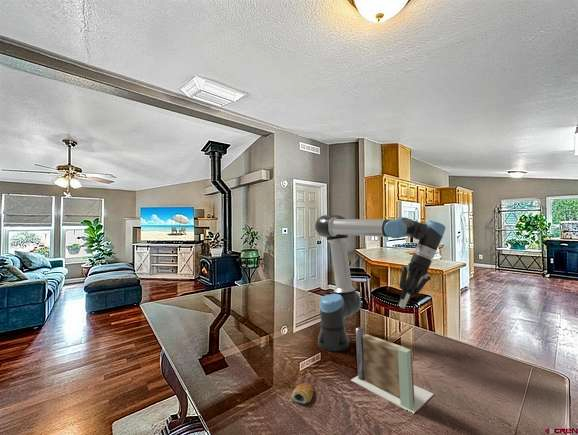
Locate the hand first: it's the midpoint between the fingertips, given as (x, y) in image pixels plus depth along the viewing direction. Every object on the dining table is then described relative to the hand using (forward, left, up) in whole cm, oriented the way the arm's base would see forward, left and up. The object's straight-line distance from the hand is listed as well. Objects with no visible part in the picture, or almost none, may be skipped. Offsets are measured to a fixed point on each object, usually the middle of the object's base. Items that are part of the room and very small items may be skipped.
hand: (401, 306), depth 113 cm
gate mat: (-7, -20, -23) cm, 32 cm away
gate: (-8, -24, -22) cm, 33 cm away
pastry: (-37, -32, -23) cm, 54 cm away
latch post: (-3, -30, -23) cm, 38 cm away
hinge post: (-17, -17, -23) cm, 33 cm away
